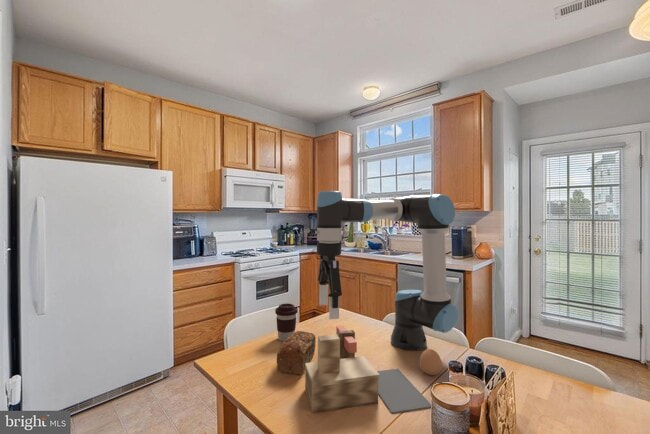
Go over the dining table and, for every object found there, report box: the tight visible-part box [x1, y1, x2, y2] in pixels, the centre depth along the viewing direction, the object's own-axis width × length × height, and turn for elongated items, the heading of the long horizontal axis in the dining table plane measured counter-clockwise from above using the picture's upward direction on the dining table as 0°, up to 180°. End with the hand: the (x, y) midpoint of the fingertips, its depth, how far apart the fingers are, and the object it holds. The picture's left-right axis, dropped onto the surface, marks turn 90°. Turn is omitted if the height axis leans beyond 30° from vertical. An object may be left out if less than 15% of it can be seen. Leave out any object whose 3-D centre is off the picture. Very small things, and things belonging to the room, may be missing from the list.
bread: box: [276, 330, 317, 376], centre depth 115 cm, size 19×11×10 cm, turn 168°
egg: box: [419, 348, 443, 376], centre depth 107 cm, size 7×7×8 cm
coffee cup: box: [274, 303, 298, 342], centre depth 137 cm, size 10×10×15 cm
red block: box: [335, 324, 358, 354], centre depth 110 cm, size 3×16×4 cm, turn 13°
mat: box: [376, 368, 432, 414], centre depth 98 cm, size 13×22×1 cm, turn 13°
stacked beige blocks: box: [305, 333, 379, 387], centre depth 93 cm, size 20×12×11 cm, turn 105°
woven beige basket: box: [304, 329, 379, 414], centre depth 98 cm, size 20×22×14 cm
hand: (328, 311), depth 92 cm, fingers open, 13 cm apart
